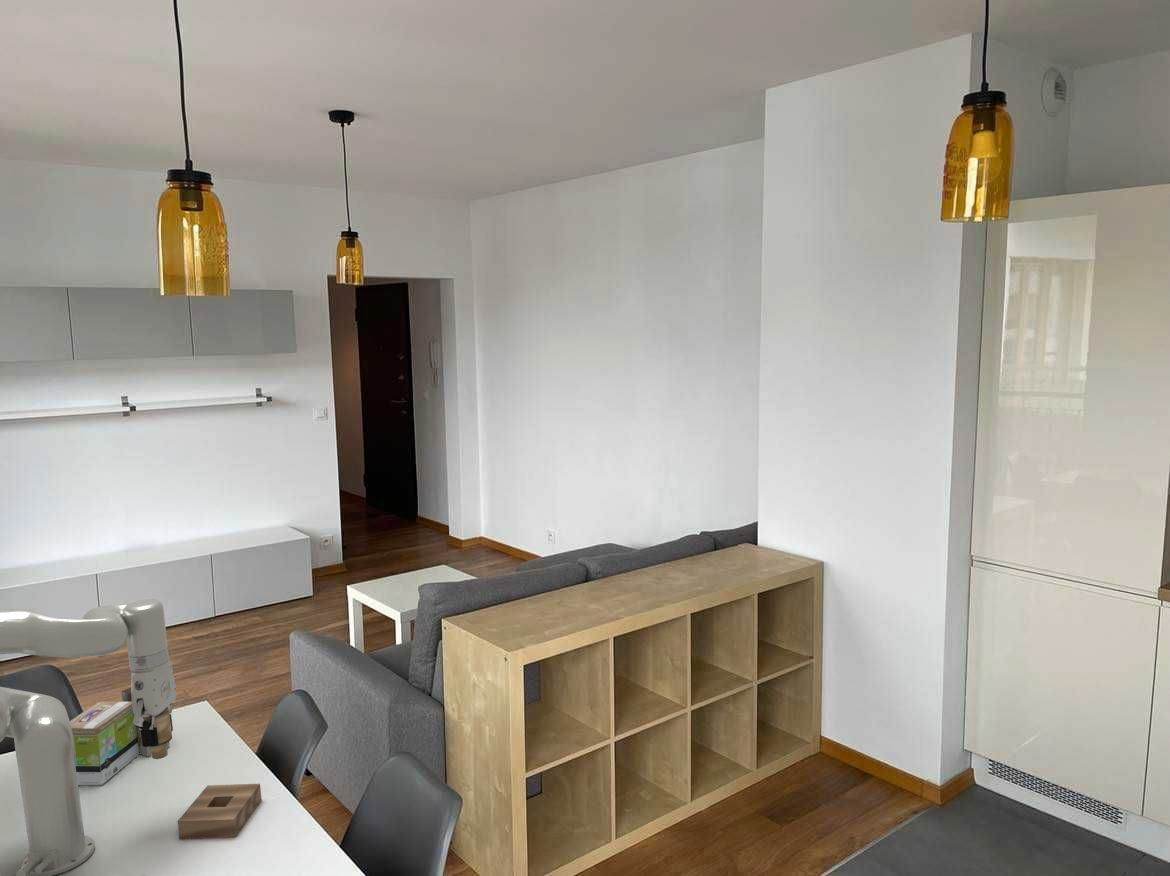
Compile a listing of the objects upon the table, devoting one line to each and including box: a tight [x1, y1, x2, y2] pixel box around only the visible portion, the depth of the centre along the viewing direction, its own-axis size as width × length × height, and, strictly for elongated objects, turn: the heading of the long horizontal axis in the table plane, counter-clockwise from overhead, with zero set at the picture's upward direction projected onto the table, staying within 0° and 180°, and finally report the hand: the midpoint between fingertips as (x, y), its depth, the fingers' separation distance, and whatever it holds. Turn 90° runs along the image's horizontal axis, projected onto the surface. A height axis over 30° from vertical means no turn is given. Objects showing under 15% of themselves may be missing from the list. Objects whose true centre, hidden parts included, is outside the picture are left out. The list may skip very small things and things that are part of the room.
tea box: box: [70, 701, 140, 786], centre depth 206 cm, size 15×10×15 cm, turn 176°
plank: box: [176, 783, 263, 840], centre depth 184 cm, size 14×12×4 cm
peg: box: [144, 709, 173, 760], centre depth 181 cm, size 5×5×10 cm
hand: (157, 738), depth 181 cm, fingers closed on peg, 5 cm apart
